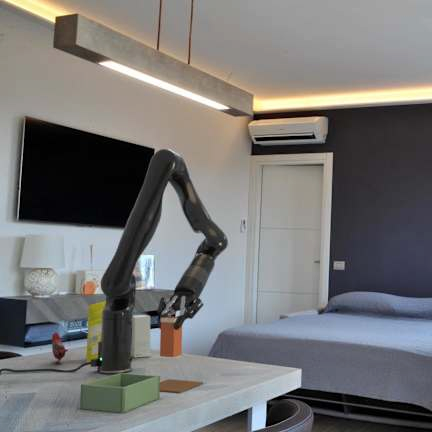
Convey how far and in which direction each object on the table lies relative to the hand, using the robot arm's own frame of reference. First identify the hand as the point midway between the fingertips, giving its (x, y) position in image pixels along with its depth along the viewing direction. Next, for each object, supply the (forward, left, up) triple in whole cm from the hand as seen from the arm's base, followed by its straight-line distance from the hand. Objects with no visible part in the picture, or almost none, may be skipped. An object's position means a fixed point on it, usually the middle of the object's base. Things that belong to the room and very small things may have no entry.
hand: (167, 327), depth 171 cm
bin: (-2, -16, -18) cm, 24 cm away
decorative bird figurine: (-55, +19, -18) cm, 61 cm away
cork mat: (0, +4, -18) cm, 18 cm away
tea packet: (0, +2, -8) cm, 9 cm away
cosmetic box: (-40, +41, -18) cm, 60 cm away
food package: (-50, +30, -18) cm, 61 cm away
